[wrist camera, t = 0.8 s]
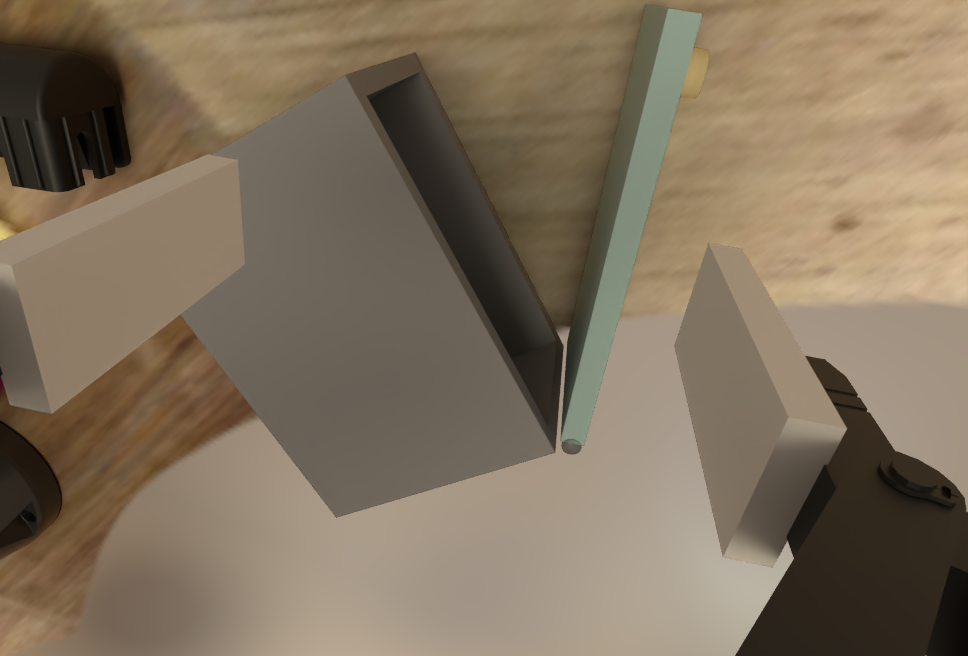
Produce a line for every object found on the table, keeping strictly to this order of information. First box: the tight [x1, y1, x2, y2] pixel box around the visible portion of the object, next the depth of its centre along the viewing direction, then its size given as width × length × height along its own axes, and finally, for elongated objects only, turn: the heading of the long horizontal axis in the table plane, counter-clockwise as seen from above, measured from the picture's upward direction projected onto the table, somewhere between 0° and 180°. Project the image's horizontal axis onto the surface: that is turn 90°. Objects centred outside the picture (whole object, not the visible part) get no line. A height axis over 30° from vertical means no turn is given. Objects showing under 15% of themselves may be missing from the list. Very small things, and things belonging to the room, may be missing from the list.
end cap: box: [0, 43, 131, 192], centre depth 35 cm, size 10×7×7 cm
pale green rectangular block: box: [561, 5, 709, 454], centre depth 31 cm, size 3×20×10 cm, turn 173°
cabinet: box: [180, 53, 563, 518], centre depth 35 cm, size 14×20×11 cm
